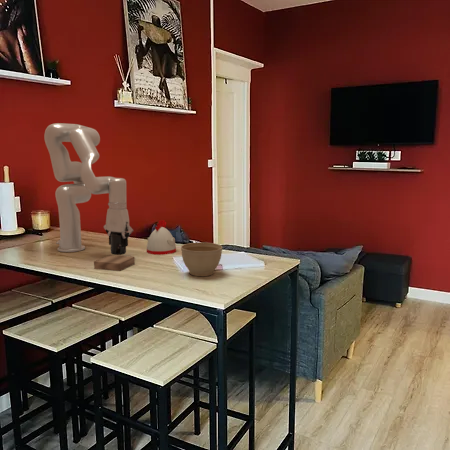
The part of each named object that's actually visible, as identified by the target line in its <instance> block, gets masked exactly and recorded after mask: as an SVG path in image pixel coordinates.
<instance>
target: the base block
mask: <svg viewBox="0 0 450 450" xmlns="http://www.w3.org/2000/svg"><path fill="white" fill-rule="evenodd" d="M135 260H136V258H135V256H130V255H129V256H127V255H114V254H109V255H107V256H104V257H102V258H99V259H97V260H94V261H93V265H94V266H93V267H94V269H96V270H105V271H106V270H107V271H117V272H118V271H119V272H120V271H124V270H125V269H127V268H130V267H131V266H133V265H135V263H136V261H135Z"/></svg>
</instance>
